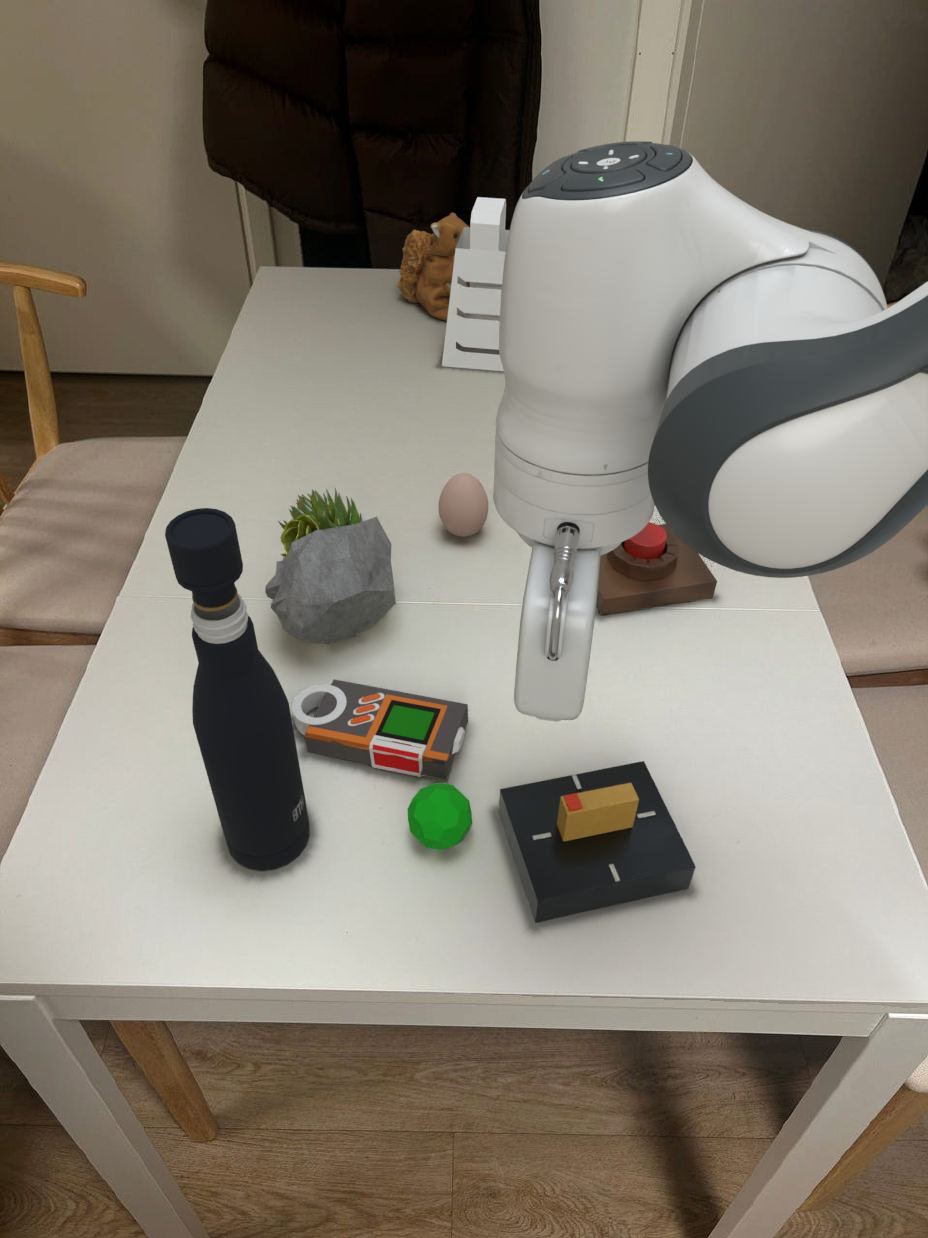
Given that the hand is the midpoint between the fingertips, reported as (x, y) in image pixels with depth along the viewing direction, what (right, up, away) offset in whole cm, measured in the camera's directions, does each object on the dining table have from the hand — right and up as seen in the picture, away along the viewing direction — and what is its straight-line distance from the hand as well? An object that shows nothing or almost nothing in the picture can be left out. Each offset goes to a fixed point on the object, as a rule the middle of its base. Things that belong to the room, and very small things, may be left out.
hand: (556, 657), depth 60 cm
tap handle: (+4, -13, +11) cm, 17 cm away
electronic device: (-13, -8, +21) cm, 26 cm away
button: (+12, +10, +34) cm, 38 cm away
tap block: (+4, -15, +13) cm, 20 cm away
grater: (-3, +40, +73) cm, 83 cm away
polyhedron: (-8, -15, +13) cm, 21 cm away
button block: (+12, +7, +37) cm, 39 cm away
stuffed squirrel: (-10, +51, +84) cm, 99 cm away
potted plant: (-19, +3, +32) cm, 38 cm away
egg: (-6, +12, +42) cm, 44 cm away
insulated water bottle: (-21, -15, +13) cm, 29 cm away
